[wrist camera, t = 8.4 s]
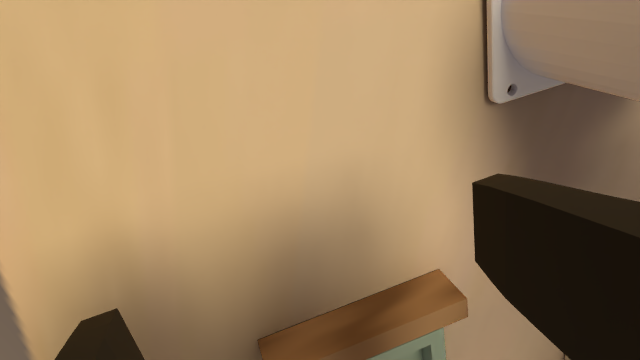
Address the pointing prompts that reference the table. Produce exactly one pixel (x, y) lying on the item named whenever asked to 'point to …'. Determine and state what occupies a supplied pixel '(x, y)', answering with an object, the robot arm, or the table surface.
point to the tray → (418, 349)
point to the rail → (372, 323)
